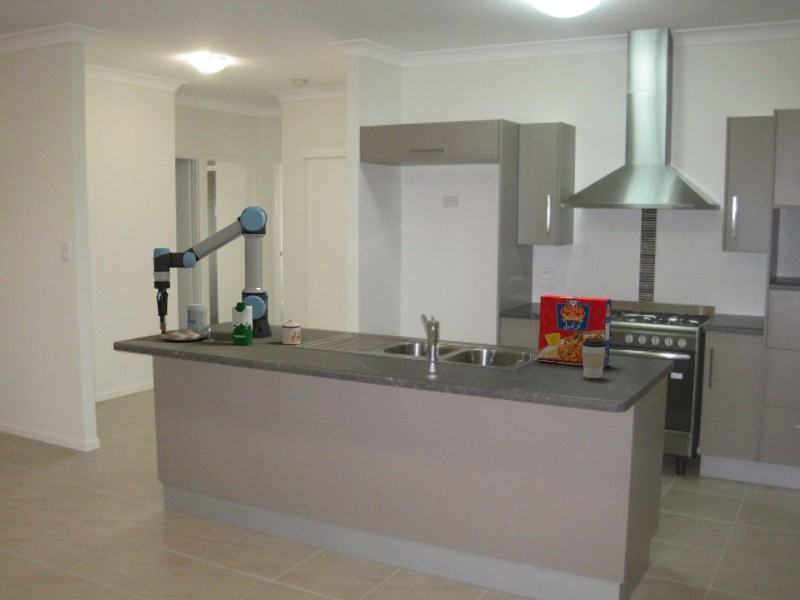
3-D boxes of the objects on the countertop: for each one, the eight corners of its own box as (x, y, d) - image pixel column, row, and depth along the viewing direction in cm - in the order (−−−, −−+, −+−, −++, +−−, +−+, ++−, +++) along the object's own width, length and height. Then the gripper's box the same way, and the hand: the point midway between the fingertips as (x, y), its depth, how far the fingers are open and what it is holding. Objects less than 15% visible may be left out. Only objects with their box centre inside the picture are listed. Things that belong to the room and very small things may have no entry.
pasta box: (538, 361, 349) (540, 296, 346) (545, 358, 356) (547, 294, 353) (603, 368, 335) (605, 300, 332) (608, 365, 342) (611, 299, 339)
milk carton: (230, 345, 381) (230, 303, 378) (236, 342, 390) (236, 300, 387) (249, 346, 380) (248, 303, 378) (254, 343, 389) (254, 301, 387)
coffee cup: (601, 374, 321) (602, 337, 319) (607, 379, 312) (609, 340, 310) (578, 374, 321) (579, 337, 319) (584, 379, 312) (585, 340, 310)
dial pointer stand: (215, 341, 392) (215, 326, 391) (210, 342, 388) (209, 328, 388) (206, 340, 394) (206, 326, 393) (201, 341, 391) (200, 327, 390)
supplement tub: (183, 333, 416) (183, 305, 414) (194, 331, 424) (194, 303, 423) (200, 334, 412) (199, 305, 411) (210, 332, 421) (210, 304, 420)
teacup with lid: (294, 345, 382) (294, 321, 381) (277, 344, 386) (277, 319, 385) (307, 342, 393) (307, 318, 392) (291, 340, 397) (291, 316, 396)
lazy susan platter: (201, 331, 412) (200, 318, 411) (213, 337, 392) (213, 323, 392) (156, 334, 401) (156, 320, 400) (166, 340, 382) (166, 326, 381)
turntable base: (205, 338, 400) (205, 335, 400) (187, 342, 388) (187, 339, 388) (182, 336, 406) (182, 333, 406) (163, 340, 393) (163, 337, 393)
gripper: (157, 279, 397) (158, 327, 400) (150, 281, 384) (151, 331, 387) (173, 279, 397) (174, 327, 400) (166, 281, 384) (167, 331, 387)
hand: (163, 328), depth 393 cm, fingers closed
